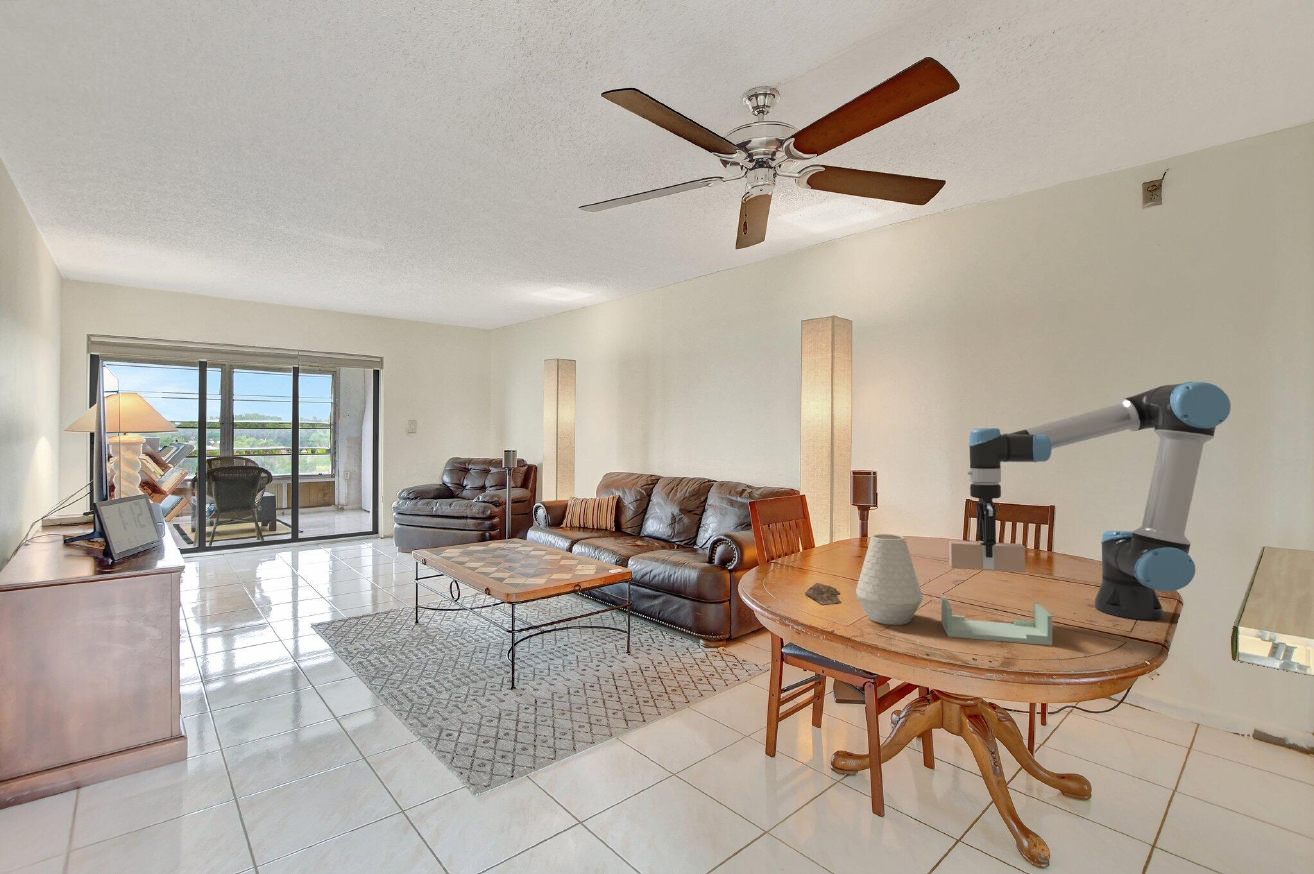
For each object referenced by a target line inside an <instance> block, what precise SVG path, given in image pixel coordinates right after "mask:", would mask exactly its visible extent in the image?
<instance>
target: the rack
mask: <svg viewBox="0 0 1314 874" xmlns="http://www.w3.org/2000/svg"><path fill="white" fill-rule="evenodd" d="M940 601H941V602H940V604H941V607H940V609H941V611H940V614H941V616H940V617H941V619H940V620H941V621H940V623H941V625H942V627H943V629H944V631H945V633H946V635H947V637H951V638H962V639H972V640H973V639H974V640H982V641H995V642H1006V643H1008V642H1009V643H1016V644H1018V643H1019V644H1027V645H1028V644H1029V645H1030V644H1031V645H1039V646H1040V645H1042V646H1053V615H1052V614H1051V613H1049V612H1048V611H1047V610H1046V609H1045V608H1044V607H1043V606H1042V605H1041V604H1040V603H1039V602H1035V601H1034V602H1033V620H1021V619H1019V620H1018V619H1014V620H1013V623H1009V622H1001V621H1000V622H998V621H997V622H995V621H984V620H971V619H965V616H964V615H959V614H958V615H957V614H956V615H955V614H953V607H952V606H951V604H950V603H949V600H948V599H947V597H946V596H945V595H944V596H943V595H941V596H940Z"/></svg>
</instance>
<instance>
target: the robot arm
mask: <svg viewBox="0 0 1314 874" xmlns="http://www.w3.org/2000/svg"><path fill="white" fill-rule="evenodd" d="M1231 406H1232V405H1231V400H1230V398H1229V396H1228V394H1227V393H1225V391H1224V390H1223V389H1222V388H1220V387H1219V386H1217V385H1216V384H1212V383H1209V382H1203V381H1187V382H1182V383H1175V384H1167V385H1166V384H1165V385H1160V386H1158V387H1155V388H1154V387H1153V388H1152V389H1149V390H1146V391H1144V392H1141V393H1138V394H1134V395H1132V396H1129V397H1125V398H1122V399H1120V400H1119V401H1118V402H1117V403H1116V404H1113V405H1109V406H1105V407H1102V408H1098V409H1095V410H1092V411H1087V412H1084V413H1080V414H1076V415H1073V416H1069V417H1066V418H1065V417H1064V418H1062V419H1059V420H1058V419H1057V420H1055V421H1051V422H1048V423H1043V424H1040V425H1036V426H1032V427H1028V428H1026V429H1022V430H1018V431H1014V432H1011V433H1001V429H999V428H996V427H995V428H994V427H993V428H992V427H990V428H986V427H985V428H972V429H971V430H970V431H969V444H968V446H969V471H967V475H968V476H969V478H970V479H969V480H970V482H971V484H970V485H969V491H970V492H969V495H970V497H971V498H975V499H978V503H977V502H976V503H975V510H976V537H977V539H978V542H983V543H981V545H982V549H983V569H994V545H996V543H997V529H996V528H997V524H996V522H997V521H996V520H997V519H996V518H997V508H996V506H995V505H996V504H994V502H993V499H1000V498H1001V497H1002V487H1001V486H1002V485H1000V483H1001V482H1002V470H1001V469H1002V467H1001V463H1010V462H1011V463H1012V462H1013V463H1040V462H1047V461H1049V459H1050V458H1051V455H1052V449H1057V448H1060V447H1064V446H1069V445H1073V444H1077V443H1080V442H1084V441H1087V440H1088V441H1089V440H1091V439H1096V438H1100V437H1103V436H1108V435H1112V434H1115V433H1119V432H1122V431H1126V430H1129V431H1130V432H1137V431H1141V430H1145V429H1154V430H1153V431H1154V432H1155V434H1156V435H1157V436H1158V437H1159V443H1158V447H1157V453H1156V456H1155V462H1154V466H1153V470H1152V476H1151V480H1150V484H1149V490H1148V493H1147V494H1148V495H1147V500H1146V504H1145V509H1144V514H1143V519H1142V522H1141V526H1140V527H1139V528H1137V529H1135V530H1133V531H1129V530H1128V531H1127V530H1107V531H1104V532H1103V533H1102V535H1101V537H1102V539H1101V542H1100V543H1101V571H1102V572H1101V573H1102V574H1101V578H1102V579H1101V580H1102V581H1101V584H1100V586H1099V589H1098V592H1097V593H1096V597H1095V598H1094V608H1095V609H1096V610H1098V611H1100V612H1102V613H1105V614H1108V615H1113V616H1116V617H1121V618H1127V619H1132V620H1135V619H1136V620H1150V621H1151V620H1159V619H1162V618H1163V616H1164V615H1163V614H1164V610H1163V606H1162V603H1161V601H1160V598H1159V596H1158V593H1157V591H1159V592H1175V591H1178V590H1181V589H1182V588H1185V587H1187V586H1188V585H1189V584H1190V583H1191V582H1192V581H1193V579H1194V578H1195V575H1196V564H1195V562H1194V560H1193V559H1192V557H1191V556H1190V555H1189V553H1190V547H1191V541H1190V540H1189V539H1188V538H1187V537H1186V536H1185V533H1186V527H1187V522H1188V519H1189V514H1190V509H1191V505H1192V500H1193V495H1194V491H1195V485H1196V482H1197V476H1198V473H1199V467H1200V462H1201V458H1202V453H1203V448H1204V446H1205V443H1207V442H1208V441H1211V440H1212V439H1214V437H1215V433H1216V427H1217V426H1219V425H1221V424H1222V423H1223V422H1225V421H1226V420H1227V419H1228V417H1229V415H1230V413H1231Z"/></svg>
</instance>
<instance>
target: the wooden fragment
mask: <svg viewBox="0 0 1314 874" xmlns="http://www.w3.org/2000/svg"><path fill="white" fill-rule="evenodd" d="M840 593H841V592H840V591H839V590H837V588H835V587H833V586H831V585H825V584H823V583H821V582H816V583H814V584H813V585H812V586H811V587H809V588H808V589H807V590H806V591H805V592H804V595H806V596H807V597H809V598H811V599H813V600H814V601H815V602H817V603H819V604H821V606H831V604H832V605H837V604H841V603H842V601H841V600H840V598H838V595H840Z"/></svg>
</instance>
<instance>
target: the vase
mask: <svg viewBox="0 0 1314 874" xmlns="http://www.w3.org/2000/svg"><path fill="white" fill-rule="evenodd" d="M917 577H918V576H917V573H916V570H915V567H914V563H913V560H912V556H911V554H910V550H909V546H908V544H907V541H906V537H905V536H902V535H899V534H893V533H892V534H891V533H878V534H877V533H876V534H872V535H871V536H870V540H869V544H868V546H867V550H866V553H865V557H864V560H863V565H862V567H861V571H860V575H859V579H858V582H857V586H856V588H855V596H856V598H857V600H858V601H859V603H860V605H861V607H862V609H863V611H864V612H865V614H866V617H867V618H868V620H870V621H872V622H873V623H874V622H875V623H877V624H881V625H886V626H887V625H889V626H903V625H907V624H908V623H910V622H911V621H912V619H913V618H914V615H915V614H916V612H917V611H918V608H919V607H920V606H921V603H922V602H923V599H924V598H923V593H922V590H921V587H920V584H919V580H918V578H917Z"/></svg>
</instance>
